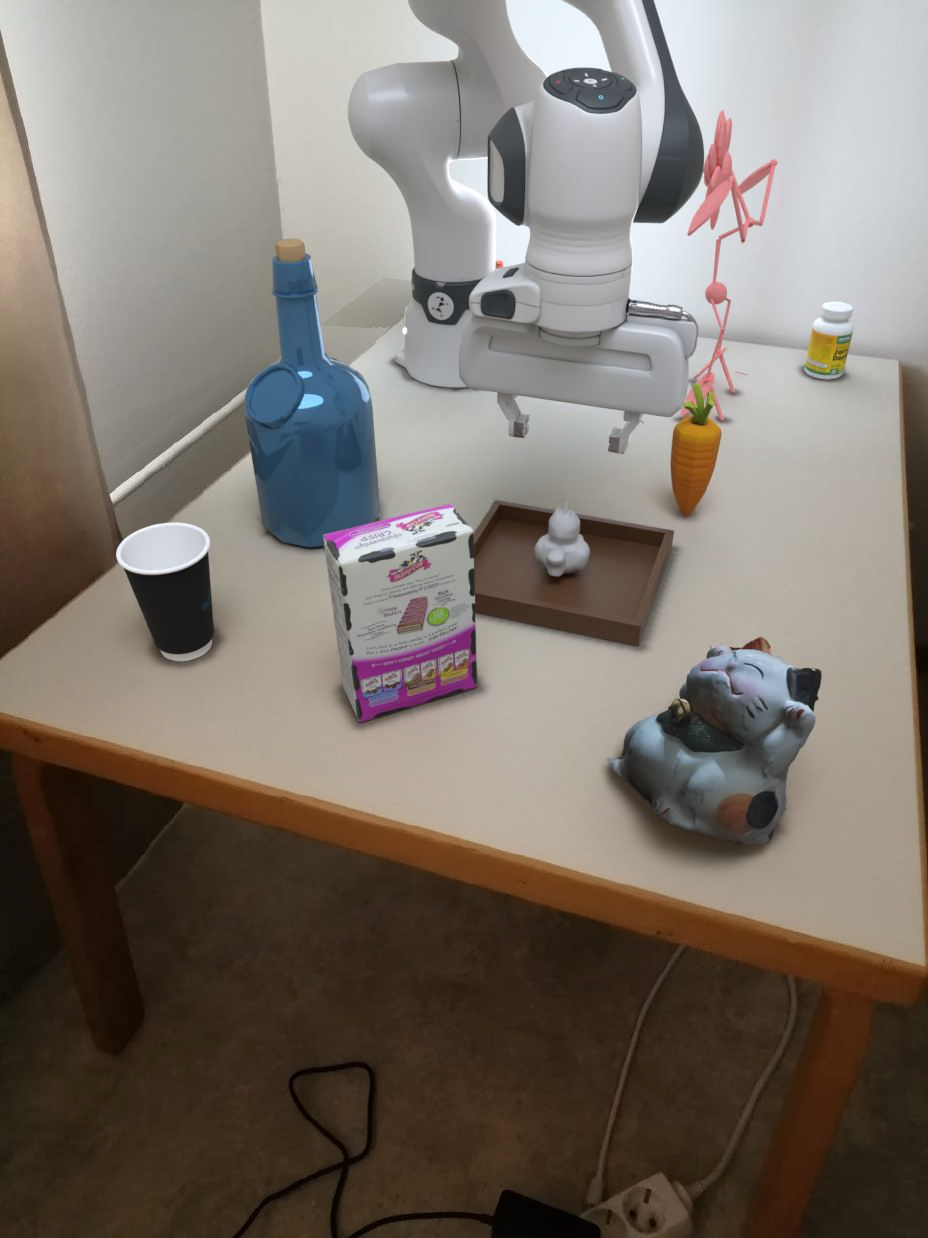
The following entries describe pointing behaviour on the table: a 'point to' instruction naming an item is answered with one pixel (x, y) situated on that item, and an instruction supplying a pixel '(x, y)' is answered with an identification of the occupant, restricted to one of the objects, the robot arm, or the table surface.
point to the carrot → (694, 452)
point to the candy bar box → (404, 609)
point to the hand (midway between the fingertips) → (567, 442)
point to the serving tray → (576, 602)
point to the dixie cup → (172, 586)
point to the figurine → (719, 185)
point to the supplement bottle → (830, 341)
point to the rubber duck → (562, 544)
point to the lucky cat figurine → (724, 744)
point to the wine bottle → (309, 421)
